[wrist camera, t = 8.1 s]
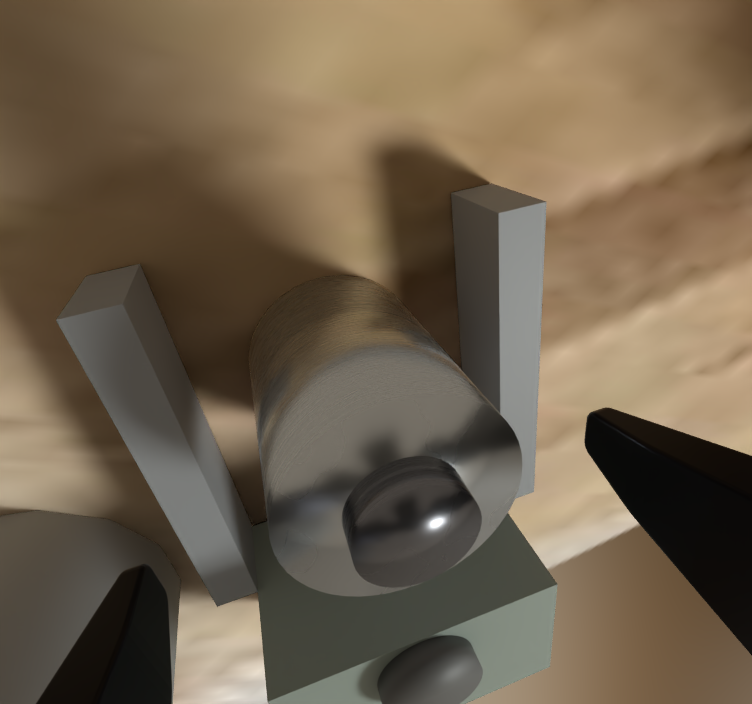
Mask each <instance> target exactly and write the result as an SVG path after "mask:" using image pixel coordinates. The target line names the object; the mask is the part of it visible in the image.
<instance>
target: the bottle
mask: <svg viewBox="0 0 752 704" xmlns="http://www.w3.org/2000/svg"><path fill="white" fill-rule="evenodd" d="M249 370H250V378H251V387H252V395H253V404H254V412H255V421H256V429H257V438H258V446H259V454H260V463H261V471H262V480H263V488H264V497H265V505H266V513H267V522H268V530H269V539H270V543H271V546H272V549H273V552H274V554H275V556H276V558H277V560H278V562H279V563H280V564H281V566H282V567H283V568H284V569H285V571H286V572H287V573H288V574H290V575H291V576H292V577H293V578H294V579H296V580H297V581H299V582H300V583H302V584H304V585H306V586H307V587H310V588H312V589H315V590H317V591H320V592H324V593H328V594H332V595H340V596H356V597H361V596H374V595H381V594H387V593H391V592H395V591H399V590H403V589H406V588H409V587H412V586H415V585H418V584H420V583H423V582H425V581H427V580H430V579H432V578H434V577H436V576H438V575H440V574H442V573H444V572H445V571H447V570H449V569H450V568H452V567H454V566H455V565H457V564H458V563H460V562H461V561H462V560H464V559H465V558H466V557H468V556H469V555H470V554H472V553H473V552H474V551H475V550H476V549H477V548H479V547H480V546H481V545H482V544H483V543H484V542H485V541H486V540H487V539H488V538H489V537H490V536H491V535H492V533H493V532H494V531H495V530H496V529H497V527H498V526H499V525H500V523H501V522H502V520H503V519H504V518H505V516H506V515H507V513H508V511H509V509H510V507H511V506H512V504H513V502H514V499H515V497H516V494H517V492H518V489H519V485H520V481H521V476H522V452H521V448H520V444H519V441H518V439H517V437H516V435H515V432H514V431H513V429H512V428H511V426H510V425H509V424H508V422H507V421H506V420H505V419H504V418H503V416H502V415H501V414H500V413H499V412H498V411H497V410H496V409H495V407H494V406H493V405H492V404H491V403H490V402H489V401H488V399H487V398H486V397H485V396H484V395H483V394H482V393H481V392H480V390H479V389H478V388H477V387H476V386H475V385H474V384H473V382H472V381H471V380H470V379H469V378H468V377H467V376H466V375H465V373H464V372H463V371H462V370H461V369H460V368H459V367H458V365H457V364H456V363H455V362H454V361H453V360H452V359H451V358H450V356H449V355H448V354H447V353H446V352H445V351H444V350H443V348H442V347H441V346H440V345H439V344H438V343H437V342H436V341H435V339H434V338H433V337H432V336H431V335H430V334H429V333H428V331H427V330H426V329H425V328H424V327H423V326H422V325H421V323H420V322H419V321H418V320H417V319H416V318H415V317H414V316H413V314H412V313H411V312H410V311H409V310H408V309H407V308H406V306H405V305H404V304H403V303H402V302H401V301H400V300H399V299H398V298H397V297H396V296H395V295H394V294H393V293H392V292H391V291H389V290H388V289H386V288H385V287H383V286H381V285H380V284H378V283H376V282H373V281H370V280H368V279H365V278H360V277H355V276H344V275H340V276H328V277H322V278H318V279H314V280H311V281H308V282H306V283H303V284H301V285H299V286H297V287H295V288H293V289H292V290H290V291H288V292H287V293H285V294H284V295H283V296H282V297H280V298H279V299H278V300H277V301H275V302H274V304H273V305H272V306H271V307H270V308H269V309H268V310H267V311H266V313H265V314H264V315H263V317H262V318H261V319H260V321H259V323H258V325H257V327H256V329H255V331H254V334H253V337H252V339H251V344H250V349H249Z"/></svg>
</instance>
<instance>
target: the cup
mask: <svg viewBox="0 0 752 704" xmlns="http://www.w3.org/2000/svg"><path fill="white" fill-rule="evenodd" d="M141 564H148V565H150V567H151V568H152V569H153V571H154V572H155V574H156V576H157V577H158V579H159V580H160V582H161V583H162V585H163V586H164V588H165V590H166V593H167V597H168V606H169V627H170V648H171V669H172V704H173V689H174V674H175V659H176V644H177V629H178V614H179V599H180V584H181V579H180V577H179V576H178V574H177V573H176V571H175V569H174V568H173V566H172V565H171V563H170V561H169V560H168V558H167V557H166V555H165V553H164V552H163V550H162V549H161V547H160V545H158V544H156V543H154V542H152V541H150V540H148V539H146V538H145V537H143V536H141V535H139V534H137V533H135V532H133V531H131V530H129V529H127V528H125V527H123V526H121V525H120V524H118V523H116V522H114V521H112V520H110V519H102V518H94V517H87V516H79V515H72V514H64V513H56V512H49V511H41V510H35V511H29V512H23V513H16V514H10V515H3V516H0V704H36V702H37V701H38V699H39V698H40V696H41V695H42V693H43V692H44V690H45V688H46V687H47V685H48V684H49V682H50V681H51V679H52V678H53V676H54V675H55V673H56V672H57V670H58V668H59V667H60V665H61V664H62V662H63V661H64V659H65V658H66V656H67V655H68V653H69V651H70V650H71V648H72V647H73V645H74V644H75V642H76V641H77V639H78V638H79V636H80V635H81V633H82V631H83V630H84V628H85V627H86V625H87V624H88V622H89V621H90V619H91V618H92V616H93V615H94V613H95V611H96V610H97V608H98V607H99V605H100V604H101V602H102V601H103V599H104V598H105V596H106V595H107V593H108V591H109V590H110V588H111V587H112V585H113V584H114V582H115V581H116V579H117V578H118V576H119V575H120V574H121V573H122V572H123V571H124V570H126V569H129V568H132V567H135V566H138V565H141Z"/></svg>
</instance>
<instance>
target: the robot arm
mask: <svg viewBox="0 0 752 704" xmlns="http://www.w3.org/2000/svg"><path fill="white" fill-rule="evenodd" d="M585 447H586V449H587V452H588V453H589V455H590V456H591V458H592V459H593V460H594V462H595V463H596V465H597V466H598V468H599V469H600V471H601V472H602V473H603V475H604V476H605V478H606V479H607V481H608V482H609V483H610V485H611V486H612V488H613V489H614V491H615V492H616V493H617V495H618V496H619V498H620V499H621V501H622V502H623V503H624V505H625V506H626V508H627V509H628V510H629V512H630V513H631V514H632V515H633V517H634V518H635V519H636V520H637V521H638V523H639V524H640V525H641V526H642V527H643V528H644V530H645V531H646V532H647V533H648V534H649V536H650V537H651V538H652V539H653V540H654V541H655V543H656V544H657V545H658V546H659V547H660V548H661V550H662V551H663V552H664V553H665V554H666V555H667V557H668V558H669V559H670V560H671V561H672V562H673V564H674V565H675V566H676V567H677V568H678V570H679V571H680V572H681V573H682V574H683V575H684V577H685V578H686V579H687V580H688V581H689V582H690V584H691V585H692V586H693V587H694V588H695V589H696V591H697V592H698V593H699V594H700V595H701V596H702V598H703V599H704V600H705V601H706V602H707V604H708V605H709V606H710V607H711V608H712V609H713V611H714V612H715V613H716V614H717V615H718V616H719V617H720V619H721V620H722V621H723V622H724V623H725V625H726V626H727V627H728V628H729V629H730V630H731V631H732V633H733V634H734V635H735V636H736V638H737V639H738V640H739V641H740V642H741V643H742V645H743V646H744V647H745V648H746V649H747V650H748V651H749V653H750V654H751V655H752V456H751V455H748V454H745V453H742V452H739V451H736V450H733V449H730V448H727V447H724V446H721V445H718V444H715V443H712V442H709V441H706V440H703V439H700V438H697V437H694V436H691V435H689V434H686V433H683V432H680V431H677V430H674V429H671V428H668V427H665V426H662V425H659V424H656V423H653V422H650V421H647V420H644V419H641V418H638V417H635V416H632V415H629V414H627V413H624V412H621V411H618V410H615V409H612V408H602V409H599V410H596V411H593V412H591V413H589V415H588V416H587V423H586V432H585ZM36 704H172V669H171V648H170V627H169V606H168V597H167V593H166V590H165V588H164V586H163V585H162V583H161V582H160V580H159V579H158V577H157V576H156V574H155V572H154V571H153V569H152V568H151V567H150V565H148V564H141V565H138V566H135V567H132V568H129V569H126V570H124V571H123V572H122V573H121V574H120V575H119V576H118V578H117V579H116V581H115V582H114V584H113V585H112V587H111V588H110V590H109V591H108V593H107V595H106V596H105V598H104V599H103V601H102V602H101V604H100V605H99V607H98V608H97V610H96V611H95V613H94V615H93V616H92V618H91V619H90V621H89V622H88V624H87V625H86V627H85V628H84V630H83V631H82V633H81V635H80V636H79V638H78V639H77V641H76V642H75V644H74V645H73V647H72V648H71V650H70V651H69V653H68V655H67V656H66V658H65V659H64V661H63V662H62V664H61V665H60V667H59V668H58V670H57V672H56V673H55V675H54V676H53V678H52V679H51V681H50V682H49V684H48V685H47V687H46V688H45V690H44V692H43V693H42V695H41V696H40V698H39V699H38V701H37V702H36Z"/></svg>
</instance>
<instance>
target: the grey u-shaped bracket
mask: <svg viewBox="0 0 752 704" xmlns="http://www.w3.org/2000/svg"><path fill="white" fill-rule="evenodd" d="M451 201H452V217H453V234H454V251H455V267H456V284H457V301H458V317H459V334H460V350H461V367H462V371H463V372H464V373H465V375H466V376H467V377H468V378H469V379H470V380H471V381H472V382H473V384H474V385H475V386H476V387H477V388H478V389H479V390H480V392H481V393H482V394H483V395H484V396H485V397H486V398H487V399H488V401H489V402H490V403H491V404H492V405H493V406H494V407H495V409H496V410H497V411H498V412H499V413H500V414H501V415H502V416H503V418H504V419H505V420H506V421H507V422H508V424H509V425H510V426H511V428H512V429H513V431H514V432H515V435H516V437H517V439H518V441H519V444H520V448H521V452H522V476H521V481H520V485H519V489H518V492H517V494H516V497H515V498H518V497H521V496H524V495H526V494H529V493H532V492H534V478H535V454H536V431H537V408H538V385H539V361H540V338H541V315H542V292H543V268H544V245H545V222H546V201H543V200H540V199H537V198H534V197H531V196H528V195H525V194H522V193H519V192H516V191H513V190H510V189H507V188H504V187H501V186H498V185H495V184H488V185H483V186H479V187H474V188H470V189H466V190H461V191H457V192H452V193H451ZM56 321H57V323H58V325H59V326H60V328H61V330H62V332H63V333H64V335H65V337H66V339H67V341H68V342H69V344H70V346H71V348H72V349H73V351H74V353H75V355H76V357H77V358H78V360H79V362H80V364H81V365H82V367H83V369H84V371H85V373H86V374H87V376H88V378H89V380H90V381H91V383H92V385H93V387H94V389H95V390H96V392H97V394H98V396H99V397H100V399H101V401H102V403H103V405H104V406H105V408H106V410H107V412H108V413H109V415H110V417H111V419H112V421H113V422H114V424H115V426H116V428H117V429H118V431H119V433H120V435H121V437H122V438H123V440H124V442H125V444H126V445H127V447H128V449H129V451H130V453H131V454H132V456H133V458H134V460H135V461H136V463H137V465H138V467H139V469H140V470H141V472H142V474H143V476H144V477H145V479H146V481H147V483H148V485H149V486H150V488H151V490H152V492H153V493H154V495H155V497H156V499H157V501H158V502H159V504H160V506H161V508H162V509H163V511H164V513H165V515H166V517H167V518H168V520H169V522H170V524H171V525H172V527H173V529H174V531H175V533H176V534H177V536H178V538H179V540H180V541H181V543H182V545H183V547H184V549H185V550H186V552H187V554H188V556H189V557H190V559H191V561H192V563H193V565H194V566H195V568H196V570H197V572H198V573H199V575H200V577H201V579H202V581H203V582H204V584H205V586H206V588H207V589H208V591H209V593H210V595H211V597H212V598H213V600H214V602H215V604H216V605H217V606H220V605H223V604H226V603H228V602H231V601H234V600H237V599H239V598H242V597H245V596H248V595H250V594H253V593H256V592H258V598H259V609H260V621H261V632H262V643H263V654H264V666H265V677H266V688H267V700H268V703H269V704H466V703H468V702H470V701H473V700H475V699H477V698H479V697H482V696H484V695H486V694H488V693H491V692H493V691H495V690H498V689H500V688H502V687H505V686H507V685H509V684H511V683H514V682H516V681H518V680H520V679H523V678H525V677H527V676H530V675H532V674H534V673H536V672H539V671H541V670H543V669H545V668H548V667H550V658H551V647H552V637H553V626H554V615H555V605H556V594H557V583H556V582H555V580H554V579H553V577H552V576H551V574H550V573H549V571H548V570H547V569H546V567H545V566H544V564H543V563H542V561H541V560H540V559H539V557H538V556H537V554H536V553H535V551H534V550H533V549H532V547H531V546H530V544H529V543H528V541H527V540H526V538H525V537H524V536H523V534H522V533H521V531H520V530H519V528H518V527H517V526H516V524H515V523H514V521H513V520H512V518H511V517H510V516H509V514H508V513H507V515H506V516H505V518H504V519H503V520H502V522H501V523H500V525H499V526H498V527H497V529H496V530H495V531H494V532H493V533H492V535H491V536H490V537H489V538H488V539H487V540H486V541H485V542H484V543H483V544H482V545H481V546H480V547H479V548H477V549H476V550H475V551H474V552H473V553H472V554H470V555H469V556H468V557H466V558H465V559H464V560H462V561H461V562H460V563H458V564H457V565H455V566H454V567H452V568H450V569H449V570H447V571H445V572H444V573H442V574H440V575H438V576H436V577H434V578H432V579H430V580H427V581H425V582H423V583H420V584H418V585H415V586H412V587H409V588H406V589H403V590H399V591H395V592H391V593H387V594H381V595H374V596H361V597H356V596H340V595H332V594H328V593H324V592H320V591H317V590H315V589H312V588H310V587H307V586H306V585H304V584H302V583H300V582H299V581H297V580H296V579H294V578H293V577H292V576H291V575H290V574H288V573H287V572H286V571H285V569H284V568H283V567H282V566H281V564H280V563H279V562H278V560H277V558H276V556H275V554H274V552H273V549H272V546H271V543H270V539H269V530H268V522H264V523H261V524H258V525H255V526H252V525H251V522H250V520H249V518H248V515H247V513H246V511H245V508H244V506H243V504H242V501H241V499H240V497H239V494H238V492H237V490H236V487H235V485H234V483H233V480H232V478H231V476H230V473H229V471H228V469H227V466H226V464H225V462H224V459H223V457H222V455H221V452H220V450H219V448H218V445H217V443H216V441H215V438H214V436H213V434H212V431H211V429H210V427H209V424H208V422H207V420H206V417H205V415H204V413H203V410H202V408H201V406H200V403H199V401H198V399H197V396H196V394H195V392H194V389H193V387H192V385H191V382H190V380H189V378H188V375H187V373H186V371H185V368H184V366H183V364H182V361H181V359H180V357H179V354H178V352H177V350H176V347H175V345H174V343H173V340H172V338H171V335H170V333H169V331H168V328H167V326H166V324H165V321H164V319H163V317H162V314H161V312H160V310H159V307H158V305H157V303H156V300H155V298H154V296H153V293H152V291H151V289H150V286H149V284H148V282H147V279H146V277H145V275H144V272H143V270H142V268H141V265H140V264H137V265H132V266H128V267H124V268H119V269H115V270H111V271H106V272H102V273H97V274H93V275H89V276H86V277H85V279H84V280H83V281H82V283H81V284H80V286H79V287H78V289H77V290H76V292H75V293H74V295H73V296H72V297H71V299H70V300H69V302H68V303H67V305H66V306H65V308H64V309H63V311H62V312H61V313H60V315H59V316H58V318H57V319H56Z"/></svg>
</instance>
